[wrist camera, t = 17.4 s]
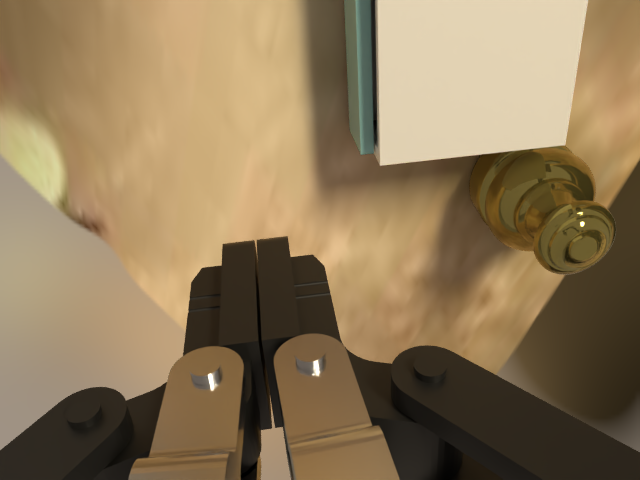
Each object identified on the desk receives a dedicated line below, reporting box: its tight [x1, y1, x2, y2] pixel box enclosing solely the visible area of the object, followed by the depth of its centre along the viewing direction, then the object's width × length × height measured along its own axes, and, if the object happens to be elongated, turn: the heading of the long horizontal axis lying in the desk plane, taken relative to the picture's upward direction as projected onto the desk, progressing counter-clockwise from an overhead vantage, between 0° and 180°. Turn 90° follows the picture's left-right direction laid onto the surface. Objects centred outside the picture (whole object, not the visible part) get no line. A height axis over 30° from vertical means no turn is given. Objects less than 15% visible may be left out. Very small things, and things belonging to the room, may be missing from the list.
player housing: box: [373, 0, 588, 166], centre depth 34 cm, size 14×11×6 cm
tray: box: [344, 0, 377, 155], centre depth 35 cm, size 14×11×4 cm
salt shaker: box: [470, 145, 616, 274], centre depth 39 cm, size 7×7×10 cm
